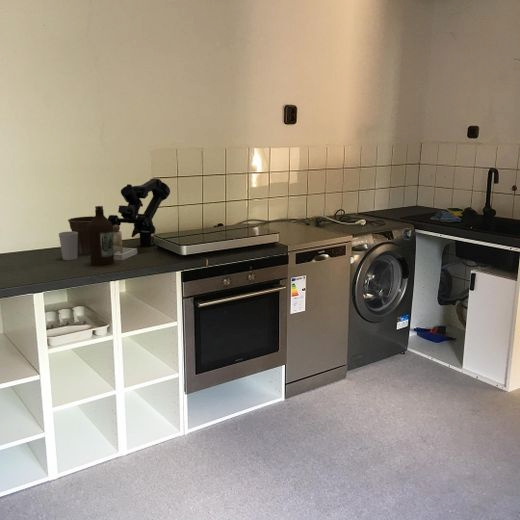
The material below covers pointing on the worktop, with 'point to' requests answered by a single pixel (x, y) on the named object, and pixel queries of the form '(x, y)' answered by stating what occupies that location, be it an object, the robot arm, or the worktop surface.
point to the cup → (69, 245)
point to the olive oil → (101, 239)
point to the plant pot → (81, 232)
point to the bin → (125, 253)
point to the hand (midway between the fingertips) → (123, 236)
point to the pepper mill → (117, 239)
